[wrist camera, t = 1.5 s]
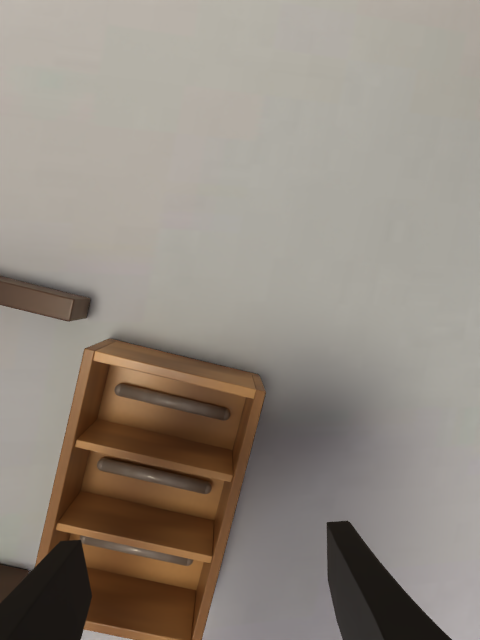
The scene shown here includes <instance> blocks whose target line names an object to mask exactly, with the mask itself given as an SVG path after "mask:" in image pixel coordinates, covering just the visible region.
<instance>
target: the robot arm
mask: <svg viewBox="0 0 480 640" xmlns="http://www.w3.org/2000/svg"><path fill="white" fill-rule="evenodd" d="M327 560H328V582H329V587H330V592H331V597H332V601H333V606H334V610H335V615H336V619H337V623H338V626H339V629H340V632H341V636H342V639H343V640H452V639H451V638H450V637H449V636H448V635H446V634H445V633H444V632H443V631H442V630H441V629H440V628H439V627H438V626H437V625H436V624H435V623H434V622H433V621H432V620H431V619H430V618H429V617H428V616H427V615H426V613H425V612H424V611H423V610H422V609H421V608H420V607H419V606H418V605H417V604H416V603H415V602H414V601H413V600H412V599H411V597H410V596H409V595H408V594H407V593H406V592H405V591H404V590H403V589H402V587H401V586H400V585H399V584H398V583H397V582H396V580H395V579H394V578H393V577H392V576H391V575H390V573H389V572H388V571H387V570H386V569H385V567H384V566H383V565H382V564H381V563H380V561H379V560H378V559H377V558H376V556H375V555H374V554H373V553H372V551H371V550H370V549H369V547H368V546H367V545H366V543H365V542H364V541H363V539H362V538H361V537H360V535H359V534H358V533H357V531H356V530H355V529H354V527H353V526H352V524H351V523H350V522H348V521H339V522H327ZM91 599H92V592H91V587H90V582H89V577H88V572H87V567H86V562H85V557H84V552H83V547H82V542H81V540H69V541H60V542H59V543H58V544H57V545H56V546H55V547H54V548H53V549H52V550H51V551H50V552H49V553H48V554H47V555H46V556H45V557H44V558H43V560H42V561H41V562H40V563H39V564H38V565H37V566H36V567H35V568H34V569H33V570H32V571H31V572H30V573H29V574H28V575H27V576H26V577H25V578H24V579H23V580H22V581H21V583H20V584H19V585H18V586H17V587H16V588H15V589H14V590H13V591H12V592H11V593H10V594H9V595H8V596H7V597H6V598H5V599H4V600H3V601H2V602H1V603H0V640H80V639H81V636H82V633H83V629H84V625H85V622H86V618H87V614H88V611H89V607H90V603H91Z"/></svg>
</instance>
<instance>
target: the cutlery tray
mask: <svg viewBox="0 0 480 640" xmlns="http://www.w3.org/2000/svg"><path fill="white" fill-rule="evenodd" d="M265 394H266V391H265V389H264V386H263V384H262V381H261V378H260V376H259V375H258V374H254V373H250V372H246V371H242V370H238V369H234V368H229V367H225V366H221V365H217V364H213V363H209V362H205V361H201V360H196V359H192V358H188V357H184V356H180V355H176V354H172V353H168V352H163V351H159V350H155V349H151V348H147V347H143V346H139V345H135V344H130V343H126V342H122V341H118V340H114V339H107V340H105V341H102V342H100V343H97V344H95V345H92V346H90V347H87V348H85V349H84V354H83V358H82V362H81V367H80V371H79V375H78V380H77V384H76V389H75V393H74V397H73V402H72V406H71V411H70V415H69V419H68V424H67V428H66V433H65V437H64V441H63V446H62V450H61V455H60V459H59V463H58V468H57V472H56V476H55V481H54V485H53V490H52V494H51V498H50V503H49V507H48V512H47V516H46V520H45V525H44V529H43V534H42V538H41V542H40V547H39V551H38V556H37V560H36V564H35V567H36V566H37V565H38V564H39V563H40V562H41V561H42V560H43V558H44V557H45V556H46V555H47V554H48V553H49V552H50V551H51V550H52V549H53V548H54V547H55V546H56V545H57V544H58V543H59V542H60V541H69V540H81V542H82V547H83V552H84V557H85V562H86V567H87V572H88V577H89V582H90V587H91V592H92V599H91V603H90V607H89V611H88V614H87V618H86V622H85V625H84V629H85V630H89V631H94V632H99V633H104V634H109V635H114V636H119V637H124V638H129V639H134V640H202V636H203V633H204V629H205V625H206V621H207V617H208V613H209V609H210V606H211V602H212V598H213V594H214V590H215V586H216V583H217V579H218V575H219V571H220V567H221V563H222V559H223V556H224V552H225V548H226V544H227V540H228V536H229V533H230V529H231V525H232V521H233V517H234V513H235V509H236V506H237V502H238V498H239V494H240V490H241V486H242V483H243V479H244V475H245V471H246V467H247V463H248V459H249V456H250V452H251V448H252V444H253V440H254V436H255V433H256V429H257V425H258V421H259V417H260V413H261V409H262V406H263V402H264V398H265Z"/></svg>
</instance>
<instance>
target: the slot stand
mask: <svg viewBox="0 0 480 640" xmlns="http://www.w3.org/2000/svg"><path fill="white" fill-rule="evenodd" d="M89 304H90V298H87V297H83V296H79V295H75V294H71V293H67V292H63V291H59V290H55V289H51V288H47V287H43V286H39V285H35V284H31V283H27V282H23V281H19V280H15V279H11V278H7V277H3V276H0V305H3V306H7V307H11V308H15V309H19V310H24V311H28V312H32V313H36V314H40V315H44V316H48V317H52V318H56V319H60V320H65V321H74V320H79V319H84V318H86V317H87V313H88V308H89ZM28 573H29V571H28V570H25V569H20V568H15V567H10V566H6V565H1V564H0V603H1V602H2V601H3V600H4V599H5V598H6V597H7V596H8V595H9V594H10V593H11V592H12V591H13V590H14V589H15V588H16V587H17V586H18V585H19V584H20V583H21V581H22V580H23V579H24V578H25V577H26V576H27V575H28Z"/></svg>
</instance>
